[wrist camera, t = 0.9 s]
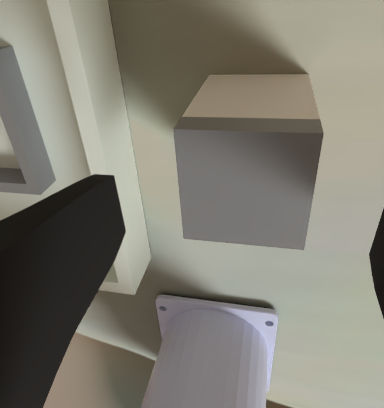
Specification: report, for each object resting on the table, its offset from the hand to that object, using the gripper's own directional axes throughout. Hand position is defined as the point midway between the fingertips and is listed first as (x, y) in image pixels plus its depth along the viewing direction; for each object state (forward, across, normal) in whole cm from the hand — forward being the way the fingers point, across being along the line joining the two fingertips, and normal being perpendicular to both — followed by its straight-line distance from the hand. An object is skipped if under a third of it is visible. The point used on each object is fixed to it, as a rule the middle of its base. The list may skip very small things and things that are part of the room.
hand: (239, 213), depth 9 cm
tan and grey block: (+7, 0, 0) cm, 7 cm away
